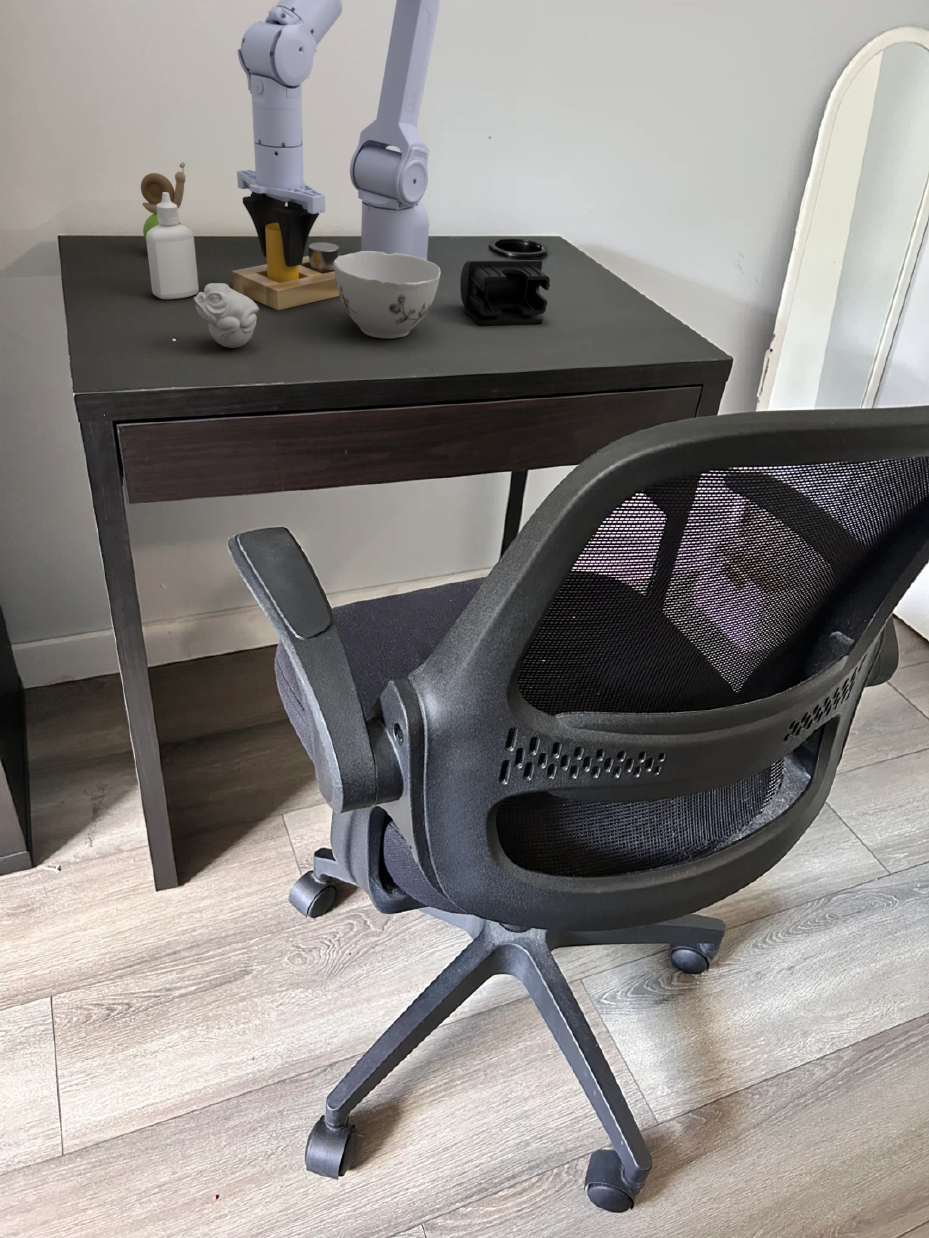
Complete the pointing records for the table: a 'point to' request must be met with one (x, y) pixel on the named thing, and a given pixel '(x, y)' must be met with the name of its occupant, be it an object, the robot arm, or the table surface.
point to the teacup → (386, 290)
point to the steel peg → (322, 257)
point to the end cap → (504, 291)
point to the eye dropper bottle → (171, 254)
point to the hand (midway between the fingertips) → (282, 260)
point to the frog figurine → (227, 314)
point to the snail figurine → (160, 194)
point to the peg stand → (285, 286)
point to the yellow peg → (277, 256)
